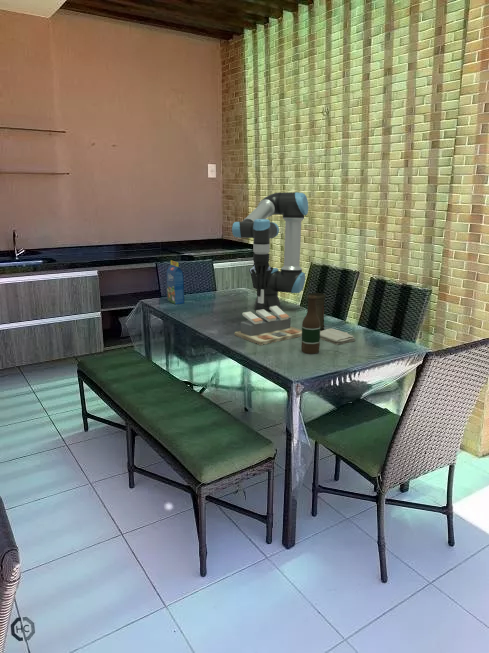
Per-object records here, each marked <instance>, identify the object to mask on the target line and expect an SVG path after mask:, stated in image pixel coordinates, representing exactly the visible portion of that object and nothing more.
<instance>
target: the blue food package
mask: <svg viewBox="0 0 489 653" xmlns="http://www.w3.org/2000/svg"><path fill="white" fill-rule="evenodd" d="M179 266H180V265H179V262H178V261H174V260H172V259H171V260H170V264H169V266H168V268H167V269H166V291H167V293H166V294H167V296H166V297H167V302H170V303H171V304H173V305H181V304H185V285H184V284H185V280H184V278H185V277H184V276H185V275H184V272H183V270H182V269H181V268H180V267H179Z"/></svg>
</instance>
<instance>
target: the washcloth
mask: <svg viewBox="0 0 489 653" xmlns="http://www.w3.org/2000/svg"><path fill="white" fill-rule="evenodd" d="M320 340H322V341H324V342H328V343H331V344H334V345H336V346H338V345H344V344H348V343H352V342H355V341H356V338H355V337H354V335H351V334H349V333H348V332H346V331H345V332H344V331H341V330H339V329H335V328H326V329H325V330H323V331H320Z"/></svg>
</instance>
